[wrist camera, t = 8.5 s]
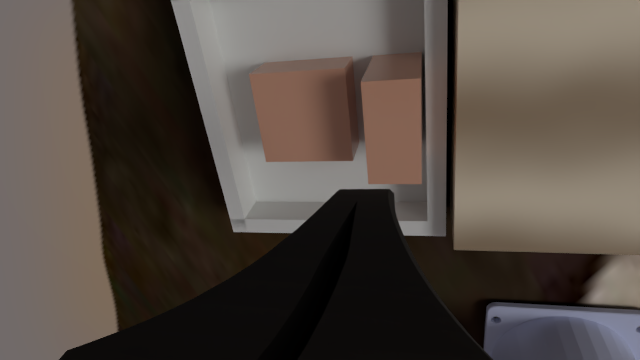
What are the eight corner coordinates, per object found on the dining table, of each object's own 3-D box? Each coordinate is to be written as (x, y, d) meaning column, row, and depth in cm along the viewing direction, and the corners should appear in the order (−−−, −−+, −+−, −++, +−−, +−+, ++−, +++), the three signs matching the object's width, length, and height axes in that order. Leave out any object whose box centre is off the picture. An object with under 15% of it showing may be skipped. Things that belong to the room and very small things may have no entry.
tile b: (266, 161, 19) (279, 144, 21) (352, 161, 18) (359, 142, 20) (248, 74, 17) (264, 62, 19) (344, 68, 16) (352, 56, 18)
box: (443, 207, 22) (445, 236, 19) (250, 206, 24) (233, 231, 22) (445, -63, 16) (448, -63, 14) (194, -25, 19) (165, -21, 17)
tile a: (421, 184, 16) (368, 184, 16) (422, 141, 19) (378, 142, 20) (420, 78, 14) (360, 81, 14) (421, 51, 17) (373, 55, 18)
